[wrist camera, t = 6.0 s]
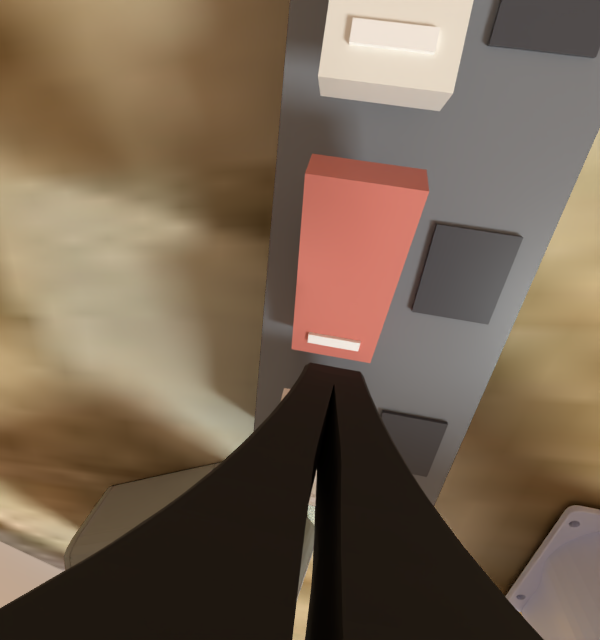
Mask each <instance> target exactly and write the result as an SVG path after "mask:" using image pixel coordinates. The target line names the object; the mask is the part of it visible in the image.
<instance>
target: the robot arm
mask: <svg viewBox="0 0 600 640" xmlns="http://www.w3.org/2000/svg"><path fill="white" fill-rule="evenodd" d="M316 471H317V478H316V502H315V527H314V552H313V572H312V585H311V595H310V603H309V611H308V620H307V628H306V636H305V640H600V509H595V508H590V507H585V506H580V505H573V506H570V507H568V508H567V509H566V510H565V511H564V512H563V514H562V515H561V517H560V518H559V520H558V521H557V523H556V524H555V525H554V527H553V528H552V530H551V531H550V533H549V534H548V536H547V537H546V538H545V540H544V541H543V543H542V544H541V546H540V547H539V549H538V550H537V551H536V553H535V554H534V556H533V557H532V559H531V560H530V562H529V563H528V564H527V566H526V567H525V569H524V570H523V572H522V573H521V575H520V576H519V577H518V579H517V580H516V582H515V583H514V585H513V586H512V588H511V589H510V590H509V592H508V593H507V595H506V596H504V595H503V593H502V592H501V591H500V590H499V589H498V587H497V586H496V585H495V584H494V583H493V581H492V580H491V579H490V578H489V577H488V575H487V574H486V573H485V572H484V571H483V569H482V568H481V567H480V566H479V565H478V563H477V562H476V561H475V560H474V559H473V557H472V556H471V555H470V554H469V553H468V551H467V550H466V549H465V548H464V547H463V545H462V544H461V543H460V541H459V540H458V539H457V537H456V536H455V535H454V533H453V532H452V531H451V529H450V528H449V527H448V525H447V524H446V523H445V521H444V520H443V519H442V517H441V516H440V514H439V513H438V512H437V510H436V509H435V507H434V506H433V504H432V503H431V502H430V500H429V499H428V497H427V496H426V494H425V493H424V491H423V490H422V488H421V487H420V485H419V484H418V482H417V481H416V479H415V477H414V476H413V474H412V473H411V471H410V469H409V468H408V466H407V464H406V463H405V461H404V459H403V458H402V456H401V454H400V453H399V451H398V449H397V447H396V445H395V444H394V442H393V440H392V438H391V436H390V434H389V432H388V430H387V428H386V426H385V424H384V423H383V421H382V419H381V417H380V414H379V412H378V410H377V408H376V406H375V404H374V401H373V399H372V397H371V394H370V392H369V389H368V387H367V384H366V382H365V379H364V376H363V375H362V373H361V372H360V371H354V370H349V369H343V368H338V367H332V366H327V365H321V364H316V363H311V362H310V363H308V364H307V365H305V366H304V369H303V371H302V373H301V374H300V376H299V378H298V379H297V381H296V382H295V384H294V385H293V386H292V388H291V389H290V391H289V392H288V393H287V395H286V396H285V397H284V398H283V399H282V401H281V402H280V403H279V404H278V406H277V407H276V408H275V409H274V410H273V412H272V413H271V414H270V415H269V416H268V417H267V418H266V419H265V420H264V421H263V423H262V424H261V425H260V426H259V427H258V428H257V429H256V430H255V431H254V432H253V433H252V434H251V435H250V436H249V437H248V438H247V439H246V440H245V441H244V442H243V443H242V444H241V445H240V446H239V447H238V448H237V449H236V450H235V451H234V452H233V453H231V454H230V455H229V456H228V457H227V458H226V459H225V460H223V461H222V462H221V463H220V464H219V465H218V466H217V467H215V468H214V469H213V470H212V471H211V472H209V473H208V474H207V475H206V476H204V477H203V478H202V479H201V480H199V481H198V482H197V483H196V484H194V485H193V486H192V487H191V488H189V489H188V490H187V491H186V492H184V493H183V494H182V495H180V496H179V497H178V498H176V499H175V500H173V501H172V502H171V503H169V504H168V505H167V506H165V507H164V508H162V509H161V510H159V511H158V512H156V513H155V514H153V515H152V516H151V517H149V518H148V519H146V520H145V521H143V522H142V523H140V524H139V525H137V526H136V527H134V528H133V529H131V530H130V531H128V532H127V533H125V534H124V535H122V536H121V537H119V538H118V539H116V540H115V541H113V542H112V543H110V544H109V545H107V546H105V547H104V548H102V549H101V550H99V551H97V552H96V553H94V554H93V555H91V556H89V557H88V558H86V559H84V560H82V561H81V562H79V563H77V564H76V565H74V566H72V567H70V568H69V569H67V570H65V571H64V572H62V573H60V574H59V575H57V576H55V577H53V578H52V579H50V580H48V581H46V582H45V583H43V584H41V585H40V586H38V587H36V588H34V589H33V590H31V591H29V592H28V593H26V594H24V595H22V596H21V597H19V598H17V599H15V600H14V601H12V602H10V603H8V604H7V605H5V606H3V607H2V608H0V640H292V636H293V627H294V618H295V610H296V601H297V593H298V585H299V576H300V568H301V560H302V551H303V543H304V535H305V527H306V519H307V511H308V504H309V500H310V496H311V491H312V487H313V483H314V479H315V475H316ZM518 611H520V612H522V615H523V616H522V615H521V614H520V613H519V612H518Z"/></svg>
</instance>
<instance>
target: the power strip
mask: <svg viewBox="0 0 600 640" xmlns="http://www.w3.org/2000/svg"><path fill="white" fill-rule="evenodd" d="M328 4H329V0H290V6H289V18H288V30H287V42H286V54H285V65H284V77H283V89H282V101H281V113H280V125H279V137H278V149H277V161H276V173H275V185H274V197H273V208H272V220H271V232H270V244H269V256H268V268H267V280H266V292H265V304H264V316H263V328H262V340H261V351H260V363H259V375H258V387H257V399H256V411H255V423H254V431H255V430H256V429H257V428H258V427H259V426H260V425H261V424H262V423H263V421H264V420H265V419H266V418H267V417H268V416H269V415H270V414H271V413H272V412H273V410H274V409H275V408H276V407H277V406H278V404H279V403H280V402H281V398H282V394H283V390H284V388H287V389H291V388H292V386H293V385H294V384H295V382H296V381H297V379H298V378H299V376H300V374H301V373H302V371H303V369H304V366H305V365H307V364H308V363H310V362H311V363H316V364H321V365H327V366H332V367H338V368H343V369H349V370H354V371H360V372H361V373H362V375H363V376H364V379H365V382H366V384H367V387H368V389H369V392H370V394H371V397H372V399H373V401H374V404H375V406H376V408H377V410H378V412H379V414H380V417H381V419H382V421H383V423H384V424H385V426H386V428H387V430H388V432H389V434H390V436H391V438H392V440H393V442H394V444H395V445H396V447H397V449H398V451H399V453H400V454H401V456H402V458H403V459H404V461H405V463H406V464H407V466H408V468H409V469H410V471H411V473H412V474H413V476H414V477H415V479H416V481H417V482H418V484H419V485H420V487H421V488H422V490H423V491H424V493H425V494H426V496H427V497H428V499H429V500H430V502H431V503H432V504H433V506H434V505H435V502H436V500H437V498H438V496H439V493H440V491H441V489H442V487H443V484H444V482H445V480H446V477H447V475H448V473H449V471H450V468H451V466H452V464H453V461H454V459H455V457H456V455H457V452H458V450H459V448H460V445H461V443H462V441H463V439H464V436H465V434H466V432H467V429H468V427H469V425H470V423H471V420H472V418H473V416H474V413H475V411H476V409H477V407H478V404H479V402H480V400H481V397H482V395H483V393H484V391H485V388H486V386H487V384H488V381H489V379H490V377H491V375H492V372H493V370H494V368H495V366H496V363H497V361H498V359H499V356H500V354H501V352H502V350H503V347H504V345H505V343H506V340H507V338H508V336H509V334H510V331H511V329H512V327H513V324H514V322H515V320H516V318H517V315H518V313H519V311H520V308H521V306H522V304H523V302H524V299H525V297H526V295H527V292H528V290H529V288H530V286H531V283H532V281H533V279H534V276H535V274H536V272H537V270H538V267H539V265H540V263H541V260H542V258H543V256H544V254H545V251H546V249H547V247H548V244H549V242H550V240H551V238H552V235H553V233H554V231H555V229H556V226H557V224H558V222H559V219H560V217H561V215H562V213H563V210H564V208H565V206H566V203H567V201H568V199H569V197H570V194H571V192H572V190H573V187H574V185H575V183H576V181H577V178H578V176H579V174H580V171H581V169H582V167H583V165H584V162H585V160H586V158H587V155H588V153H589V151H590V149H591V146H592V144H593V142H594V139H595V137H596V135H597V133H598V130H599V128H600V0H474V1H473V5H472V10H471V15H470V19H469V24H468V28H467V33H466V37H465V42H464V46H463V51H462V56H461V60H460V65H459V69H458V74H457V78H456V83H455V88H454V92H453V94H452V96H451V97H450V98H449V100H448V101H447V102H446V103H445V105H444V106H443V107H442V109H441V110H440V111H434V110H426V109H418V108H410V107H403V106H395V105H387V104H380V103H372V102H364V101H357V100H349V99H341V98H333V97H326V96H320V88H319V81H318V72H319V65H320V58H321V52H322V45H323V38H324V31H325V24H326V17H327V11H328ZM312 154H319V155H326V156H333V157H340V158H347V159H354V160H361V161H368V162H375V163H382V164H389V165H397V166H404V167H411V168H418V169H425V170H427V177H428V185H429V194H428V197H427V200H426V203H425V205H424V208H423V211H422V214H421V217H420V220H419V223H418V226H417V229H416V232H415V235H414V237H413V240H412V243H411V246H410V249H409V252H408V255H407V258H406V261H405V264H404V267H403V269H402V272H401V275H400V278H399V281H398V284H397V287H396V290H395V293H394V296H393V299H392V301H391V304H390V307H389V310H388V313H387V316H386V319H385V322H384V325H383V328H382V331H381V334H380V336H379V339H378V342H377V345H376V348H375V351H374V354H373V357H372V360H371V363H366V362H361V361H355V360H349V359H344V358H338V357H333V356H327V355H321V354H316V353H310V352H305V351H299V350H293V349H292V336H293V323H294V310H295V297H296V284H297V271H298V258H299V245H300V232H301V219H302V206H303V193H304V180H305V172H306V169H307V167H308V164H309V161H310V158H311V155H312Z"/></svg>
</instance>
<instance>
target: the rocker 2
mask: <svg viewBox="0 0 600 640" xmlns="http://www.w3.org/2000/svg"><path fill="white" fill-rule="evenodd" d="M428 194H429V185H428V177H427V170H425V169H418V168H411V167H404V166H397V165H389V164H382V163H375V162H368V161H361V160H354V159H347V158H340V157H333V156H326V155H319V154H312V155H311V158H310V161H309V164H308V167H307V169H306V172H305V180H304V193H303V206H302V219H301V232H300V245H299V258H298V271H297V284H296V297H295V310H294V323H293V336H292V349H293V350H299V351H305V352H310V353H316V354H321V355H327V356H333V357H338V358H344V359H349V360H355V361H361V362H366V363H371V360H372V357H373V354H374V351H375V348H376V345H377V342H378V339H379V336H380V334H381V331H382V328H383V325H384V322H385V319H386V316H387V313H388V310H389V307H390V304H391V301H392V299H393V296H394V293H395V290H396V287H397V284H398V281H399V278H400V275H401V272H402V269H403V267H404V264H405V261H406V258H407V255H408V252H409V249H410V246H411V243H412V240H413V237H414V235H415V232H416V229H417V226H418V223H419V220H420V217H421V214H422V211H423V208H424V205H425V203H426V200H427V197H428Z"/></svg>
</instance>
